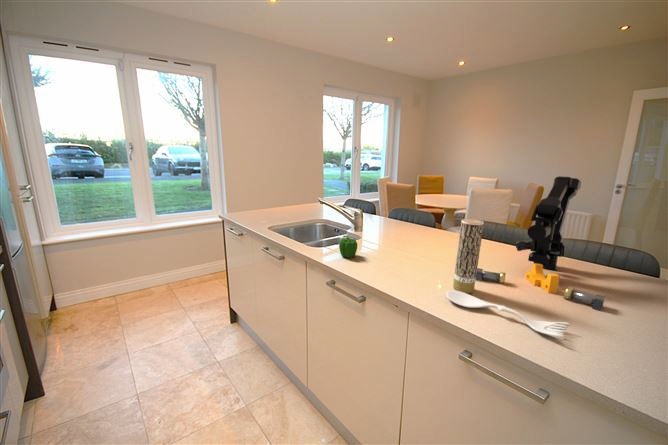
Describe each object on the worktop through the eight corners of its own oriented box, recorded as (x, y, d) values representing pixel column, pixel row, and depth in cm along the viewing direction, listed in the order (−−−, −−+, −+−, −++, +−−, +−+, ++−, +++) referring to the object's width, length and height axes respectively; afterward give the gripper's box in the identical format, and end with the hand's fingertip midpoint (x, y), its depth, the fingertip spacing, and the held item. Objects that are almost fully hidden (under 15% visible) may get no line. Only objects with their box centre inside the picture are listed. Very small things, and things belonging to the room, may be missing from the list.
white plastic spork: (562, 348, 73) (565, 336, 72) (440, 302, 95) (441, 292, 95) (568, 333, 79) (571, 322, 79) (452, 293, 101) (453, 284, 101)
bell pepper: (360, 255, 138) (361, 235, 135) (351, 260, 131) (352, 239, 129) (344, 252, 142) (345, 232, 140) (335, 257, 135) (336, 236, 133)
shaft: (562, 299, 97) (565, 288, 96) (565, 295, 100) (568, 285, 99) (601, 311, 90) (604, 299, 90) (603, 306, 93) (605, 295, 92)
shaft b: (503, 281, 111) (505, 271, 111) (504, 285, 108) (505, 275, 107) (475, 276, 116) (477, 266, 115) (475, 280, 112) (476, 270, 111)
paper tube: (449, 285, 107) (457, 218, 101) (467, 285, 107) (476, 218, 101) (458, 294, 100) (468, 223, 94) (477, 294, 101) (488, 223, 95)
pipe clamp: (525, 278, 114) (528, 262, 113) (537, 279, 114) (540, 263, 112) (542, 292, 102) (546, 275, 101) (556, 293, 102) (559, 276, 100)
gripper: (521, 227, 124) (516, 262, 128) (515, 237, 110) (509, 275, 114) (554, 232, 118) (547, 268, 121) (552, 242, 103) (544, 283, 107)
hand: (536, 273), depth 116 cm, fingers closed
